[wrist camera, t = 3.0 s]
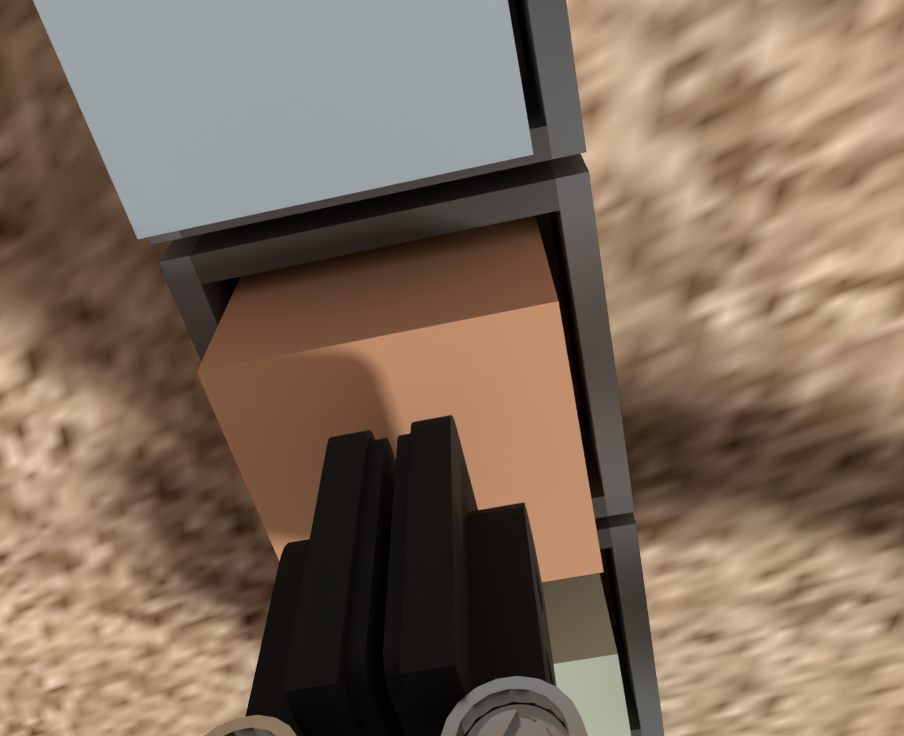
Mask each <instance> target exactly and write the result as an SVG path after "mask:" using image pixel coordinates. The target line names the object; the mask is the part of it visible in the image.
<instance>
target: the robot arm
mask: <svg viewBox="0 0 904 736" xmlns="http://www.w3.org/2000/svg"><path fill="white" fill-rule="evenodd" d="M205 736H588V734H587V732H586V729H585V726H584V723H583V720H582V718H581V716H580V714H579V712H578V710H577V708H576V707H575V705H574V703H573V701H572V700H571V699H570V698H569V697H568V696H567V695H565V694H564V693H563V692H562V691H561V690H560V689H559V688H558V687H557V686H556V679H555V672H554V665H553V657H552V650H551V643H550V636H549V629H548V621H547V614H546V607H545V600H544V594H543V588H542V582H541V576H540V570H539V565H538V560H537V555H536V550H535V545H534V540H533V536H532V531H531V527H530V522H529V518H528V513H527V509H526V506H525V503H524V502H523V503H517V504H511V505H505V506H500V507H494V508H488V509H482V510H478V507H477V503H476V500H475V496H474V492H473V488H472V484H471V480H470V477H469V473H468V469H467V465H466V461H465V458H464V454H463V450H462V446H461V442H460V438H459V435H458V431H457V427H456V424H455V420H454V418H453V416H452V415H448V416H443V417H437V418H432V419H426V420H421V421H415V422H412V423H411V431H410V434H404V435H399V436H398V439H397V451H396V459H395V456H394V453H393V450H392V447H391V444H390V442H389V440H388V438H382V439H377V440H375V437H374V435H373V433H372V431H370V430H366V431H361V432H355V433H350V434H344V435H339V436H333V437H330V438H329V439H328V442H327V447H326V453H325V458H324V463H323V469H322V474H321V480H320V485H319V491H318V496H317V502H316V507H315V512H314V518H313V523H312V529H311V534H310V539H307V540H301V541H295V542H289V543H287V544H286V546H285V547H284V548H283V551H282V554H281V558H280V562H279V567H278V571H277V576H276V580H275V585H274V589H273V594H272V599H271V603H270V608H269V612H268V617H267V621H266V626H265V631H264V635H263V640H262V644H261V649H260V653H259V658H258V663H257V667H256V672H255V676H254V681H253V685H252V690H251V694H250V699H249V704H248V708H247V713H246V717H240V718H236V719H234V720H231V721H229V722H227V723H224V724H222V725H220V726H217V727H216V728H214V729H213V730H212V731H210V732H209V733H207V734H206V735H205Z"/></svg>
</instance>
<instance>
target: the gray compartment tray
mask: <svg viewBox="0 0 904 736" xmlns="http://www.w3.org/2000/svg"><path fill="white" fill-rule="evenodd" d="M508 5H509V11H510V17H511V23H512V29H513V35H514V41H515V47H516V53H517V59H518V65H519V71H520V77H521V83H522V89H523V95H524V101H525V107H526V113H527V119H528V125H529V131H530V137H531V143H532V149H533V155H529V156H524V157H519V158H515V159H510V160H505V161H501V162H496V163H491V164H487V165H482V166H477V167H473V168H468V169H463V170H459V171H454V172H449V173H445V174H440V175H435V176H431V177H426V178H421V179H417V180H412V181H407V182H403V183H398V184H393V185H389V186H384V187H379V188H375V189H370V190H365V191H361V192H356V193H351V194H347V195H342V196H337V197H333V198H328V199H323V200H319V201H314V202H309V203H305V204H300V205H295V206H291V207H286V208H281V209H277V210H272V211H267V212H263V213H258V214H253V215H249V216H244V217H239V218H235V219H230V220H225V221H221V222H216V223H211V224H207V225H202V226H197V227H193V228H188V229H183V230H179V231H174V232H169V233H165V234H160V235H155V236H151V237H148V239H149V241H150V243H151V245H153V244H157V243H162V242H167V241H171V240H174V241H173V242H172V244H171V245H170V247H169V248H168V249H167V251H166V252H165V254H164V255H163V257H162V258H161V260H160V261H159V264H160V266H161V269H162V271H163V273H164V276H165V278H166V280H167V283H168V285H169V287H170V290H171V292H172V294H173V297H174V299H175V301H176V304H177V306H178V308H179V311H180V313H181V315H182V317H183V320H184V322H185V324H186V327H187V329H188V331H189V334H190V336H191V338H192V341H193V343H194V345H195V348H196V350H197V352H198V355H199V357H200V359H201V362H202V359H203V357H204V355H205V353H206V351H207V349H208V346H209V344H210V342H211V340H212V338H213V336H214V333H215V331H216V329H217V327H218V325H219V323H220V320H221V318H222V316H223V314H224V312H225V309H226V307H227V305H228V303H229V301H230V299H231V296H232V294H233V292H234V290H235V288H236V286H237V283H238V281H239V279H240V277H241V276H245V275H250V274H255V273H260V272H264V271H269V270H274V269H279V268H284V267H289V266H293V265H298V264H303V263H308V262H313V261H318V260H322V259H327V258H332V257H337V256H342V255H347V254H351V253H356V252H361V251H366V250H371V249H375V248H380V247H385V246H390V245H395V244H400V243H404V242H409V241H414V240H419V239H424V238H429V237H433V236H438V235H443V234H448V233H453V232H458V231H462V230H467V229H472V228H477V227H482V226H487V225H491V224H496V223H501V222H506V221H511V220H516V219H520V218H525V217H530V216H536V220H537V224H538V227H539V231H540V235H541V239H542V242H543V246H544V250H545V253H546V257H547V261H548V264H549V268H550V272H551V275H552V279H553V283H554V287H555V290H556V294H557V298H558V301H559V307H560V313H561V319H562V325H563V331H564V337H565V343H566V349H567V355H568V361H569V367H570V373H571V379H572V385H573V391H574V397H575V403H576V409H577V415H578V421H579V427H580V433H581V439H582V445H583V451H584V457H585V463H586V469H587V475H588V481H589V487H590V493H591V499H592V505H593V511H594V517H595V523H596V529H597V535H598V541H599V547H600V553H601V559H602V565H603V571H604V572H602V573H599V574H600V578H601V582H602V587H603V591H604V596H605V600H606V605H607V609H608V613H609V618H610V622H611V627H612V631H613V636H614V640H615V644H616V649H617V653H618V659H619V665H620V671H621V677H622V683H623V689H624V695H625V701H626V707H627V713H628V719H629V725H630V731H631V736H664V730H663V722H662V715H661V707H660V700H659V692H658V685H657V677H656V670H655V662H654V655H653V647H652V640H651V632H650V625H649V617H648V610H647V602H646V595H645V588H644V580H643V573H642V565H641V558H640V550H639V543H638V535H637V528H636V522H635V519H634V515H633V512H634V505H633V498H632V490H631V483H630V475H629V468H628V460H627V453H626V445H625V438H624V431H623V423H622V416H621V408H620V401H619V393H618V386H617V378H616V371H615V363H614V356H613V348H612V341H611V333H610V326H609V318H608V311H607V303H606V296H605V288H604V281H603V273H602V266H601V259H600V251H599V244H598V236H597V229H596V221H595V214H594V206H593V199H592V191H591V184H590V176H589V171H588V169H587V167H586V165H585V162H584V160H583V158H582V156H581V154H580V153H584V152H586V146H585V139H584V131H583V124H582V116H581V109H580V101H579V94H578V87H577V79H576V72H575V64H574V57H573V49H572V42H571V34H570V27H569V19H568V12H567V4H566V0H508Z"/></svg>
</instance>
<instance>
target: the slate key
mask: <svg viewBox="0 0 904 736" xmlns="http://www.w3.org/2000/svg"><path fill="white" fill-rule="evenodd" d="M33 2H34V4H35V6H36V9H37V11H38V13H39V15H40V18H41V20H42V22H43V25H44V27H45V29H46V31H47V34H48V36H49V38H50V40H51V43H52V45H53V47H54V50H55V52H56V54H57V56H58V59H59V61H60V63H61V66H62V68H63V70H64V72H65V75H66V77H67V79H68V82H69V84H70V86H71V88H72V91H73V93H74V95H75V97H76V100H77V102H78V104H79V107H80V109H81V111H82V113H83V116H84V118H85V120H86V123H87V125H88V127H89V129H90V132H91V134H92V136H93V139H94V141H95V143H96V145H97V148H98V150H99V152H100V155H101V157H102V159H103V161H104V164H105V166H106V168H107V170H108V173H109V175H110V177H111V180H112V182H113V184H114V186H115V189H116V191H117V193H118V196H119V198H120V200H121V202H122V205H123V207H124V209H125V212H126V214H127V216H128V218H129V221H130V223H131V225H132V227H133V230H134V232H135V234H136V237H137V239H141V238H146V237H151V236H155V235H160V234H165V233H169V232H174V231H179V230H183V229H188V228H193V227H197V226H202V225H207V224H211V223H216V222H221V221H225V220H230V219H235V218H239V217H244V216H249V215H253V214H258V213H263V212H267V211H272V210H277V209H281V208H286V207H291V206H295V205H300V204H305V203H309V202H314V201H319V200H323V199H328V198H333V197H337V196H342V195H347V194H351V193H356V192H361V191H365V190H370V189H375V188H379V187H384V186H389V185H393V184H398V183H403V182H407V181H412V180H417V179H421V178H426V177H431V176H435V175H440V174H445V173H449V172H454V171H459V170H463V169H468V168H473V167H477V166H482V165H487V164H491V163H496V162H501V161H505V160H510V159H515V158H519V157H524V156H529V155H533V149H532V143H531V137H530V131H529V125H528V119H527V113H526V107H525V101H524V95H523V89H522V83H521V77H520V71H519V65H518V59H517V53H516V47H515V41H514V35H513V29H512V23H511V17H510V11H509V5H508V0H33Z"/></svg>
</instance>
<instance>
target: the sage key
mask: <svg viewBox="0 0 904 736" xmlns="http://www.w3.org/2000/svg"><path fill="white" fill-rule="evenodd" d="M542 588H543V594H544V600H545V607H546V614H547V621H548V629H549V636H550V643H551V650H552V657H553V665H554V672H555V679H556V686H557V687H558V688H559V689H560V690H561V691H562V692H563V693H564V694H565V695H567V696H568V697H569V698H570V699H571V700H572V701H573V703H574V705H575V707H576V708H577V710H578V712H579V714H580V716H581V718H582V720H583V723H584V726H585V729H586V732H587V734H588V736H631V731H630V725H629V719H628V713H627V707H626V701H625V695H624V689H623V683H622V677H621V671H620V665H619V659H618V653H617V649H616V644H615V640H614V636H613V631H612V627H611V622H610V618H609V613H608V609H607V605H606V600H605V596H604V591H603V587H602V582H601V578H600V574H599V573H596V574H589V575H583V576H577V577H571V578H565V579H559V580H553V581H547V582H542Z"/></svg>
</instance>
